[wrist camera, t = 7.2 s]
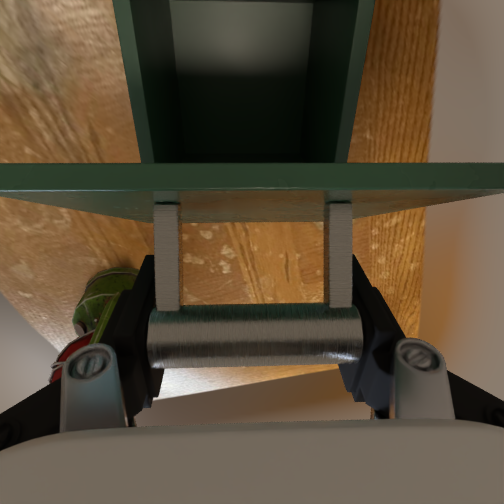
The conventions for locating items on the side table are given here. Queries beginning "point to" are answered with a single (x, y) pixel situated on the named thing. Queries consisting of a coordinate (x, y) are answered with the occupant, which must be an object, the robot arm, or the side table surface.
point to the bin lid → (250, 210)
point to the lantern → (95, 311)
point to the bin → (243, 78)
